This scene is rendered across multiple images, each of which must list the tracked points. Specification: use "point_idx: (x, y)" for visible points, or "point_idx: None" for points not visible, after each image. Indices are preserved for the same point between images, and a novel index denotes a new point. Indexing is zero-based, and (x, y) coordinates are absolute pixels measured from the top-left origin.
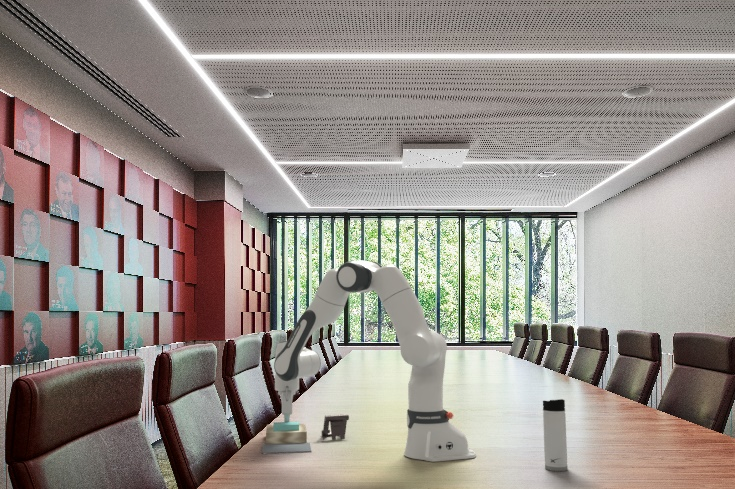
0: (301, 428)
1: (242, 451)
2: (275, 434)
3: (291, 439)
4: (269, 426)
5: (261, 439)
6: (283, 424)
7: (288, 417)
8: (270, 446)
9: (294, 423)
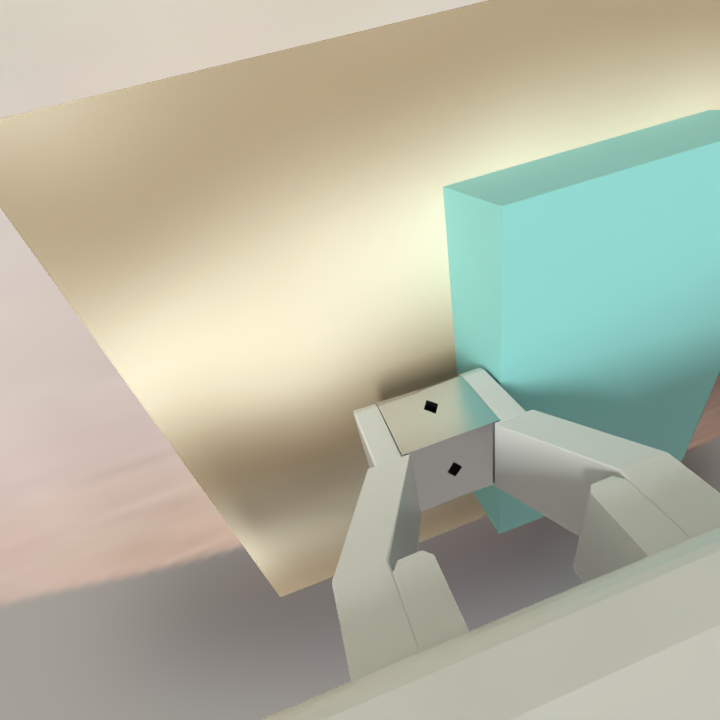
0: (562, 97)
1: (706, 429)
2: None
3: None
4: None
5: None
6: (682, 383)
7: (577, 441)
8: None
9: (679, 242)
